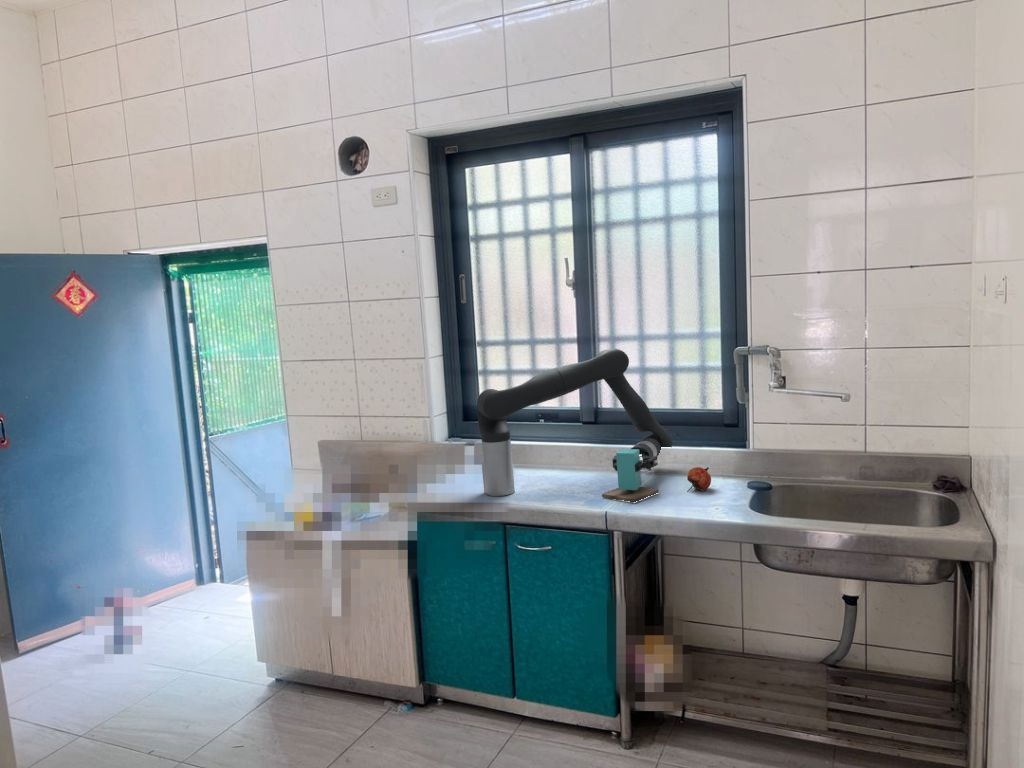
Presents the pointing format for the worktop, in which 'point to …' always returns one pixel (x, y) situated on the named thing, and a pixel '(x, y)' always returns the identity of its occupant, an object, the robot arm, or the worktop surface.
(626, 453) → the block
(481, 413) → the robot arm
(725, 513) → the worktop surface
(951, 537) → the worktop surface
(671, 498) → the worktop surface
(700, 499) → the worktop surface
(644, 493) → the base plate
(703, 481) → the pomegranate
